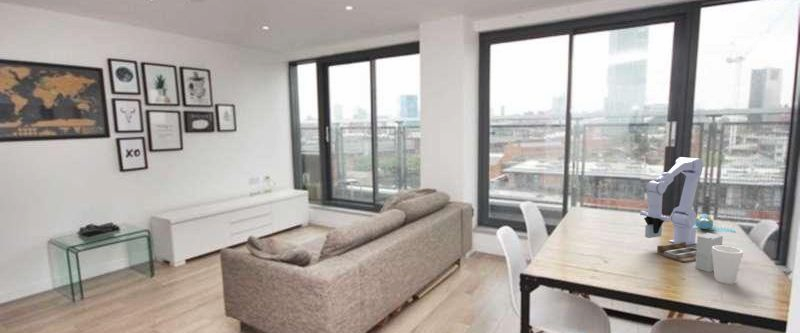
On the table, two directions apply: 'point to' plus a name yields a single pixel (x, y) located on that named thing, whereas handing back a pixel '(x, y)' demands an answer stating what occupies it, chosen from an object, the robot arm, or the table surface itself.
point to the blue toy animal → (708, 224)
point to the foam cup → (726, 263)
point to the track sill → (678, 252)
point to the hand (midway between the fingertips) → (653, 232)
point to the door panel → (650, 233)
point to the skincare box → (706, 251)
